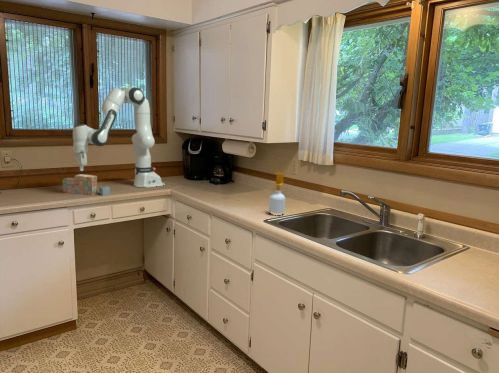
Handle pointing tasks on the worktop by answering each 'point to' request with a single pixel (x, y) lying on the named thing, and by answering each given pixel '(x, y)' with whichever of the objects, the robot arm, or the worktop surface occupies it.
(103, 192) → the slate cube
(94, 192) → the stack of blocks
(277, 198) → the soap bottle
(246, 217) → the worktop surface
